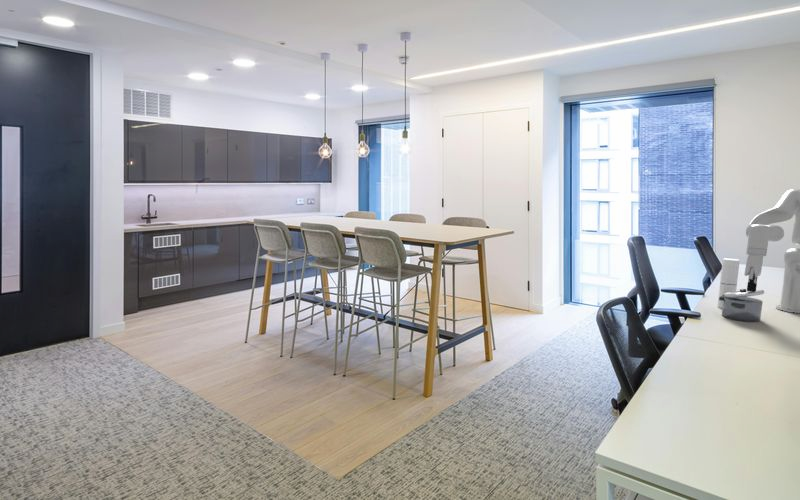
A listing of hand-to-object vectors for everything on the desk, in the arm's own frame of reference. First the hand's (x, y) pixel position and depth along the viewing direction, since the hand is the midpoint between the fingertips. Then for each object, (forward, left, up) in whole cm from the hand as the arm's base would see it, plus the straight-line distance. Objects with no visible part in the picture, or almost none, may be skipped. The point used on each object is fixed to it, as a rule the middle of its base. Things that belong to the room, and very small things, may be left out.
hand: (751, 291), depth 227 cm
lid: (-1, -3, -2) cm, 4 cm away
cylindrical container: (-19, -13, -14) cm, 27 cm away
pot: (-1, -3, -14) cm, 14 cm away
